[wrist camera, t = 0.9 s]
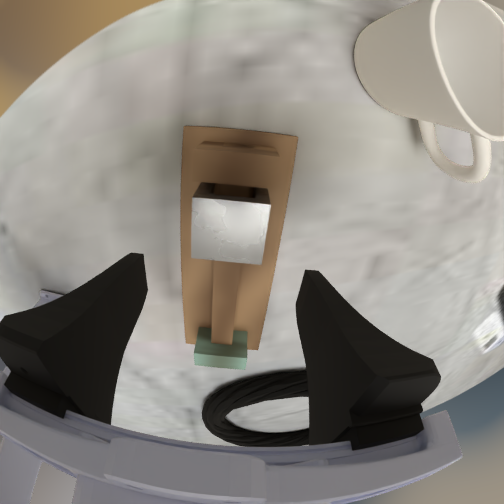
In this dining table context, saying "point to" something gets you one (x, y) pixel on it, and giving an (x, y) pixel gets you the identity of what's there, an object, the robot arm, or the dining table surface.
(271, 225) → the rail
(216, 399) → the cable lock
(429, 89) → the cup
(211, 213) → the keeper
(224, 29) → the dining table surface
